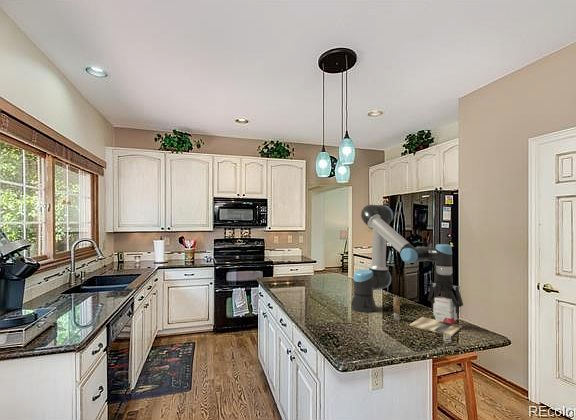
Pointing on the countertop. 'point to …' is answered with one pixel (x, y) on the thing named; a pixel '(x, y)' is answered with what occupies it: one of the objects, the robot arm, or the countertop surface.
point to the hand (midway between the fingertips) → (445, 317)
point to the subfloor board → (436, 326)
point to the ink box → (444, 310)
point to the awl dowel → (396, 308)
